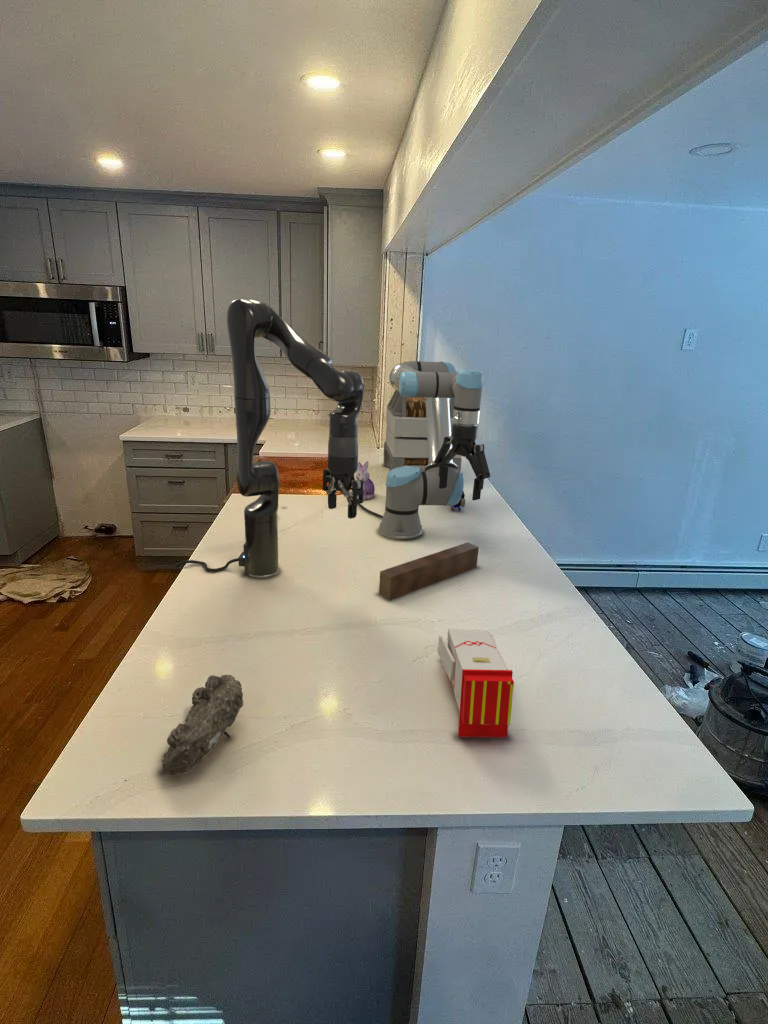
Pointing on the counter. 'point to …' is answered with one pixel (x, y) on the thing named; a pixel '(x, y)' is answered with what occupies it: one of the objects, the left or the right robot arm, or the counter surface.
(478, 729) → the toy
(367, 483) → the figurine
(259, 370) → the left robot arm
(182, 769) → the fossil
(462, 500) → the figurine character
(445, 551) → the plank
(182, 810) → the counter surface
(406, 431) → the transformer
